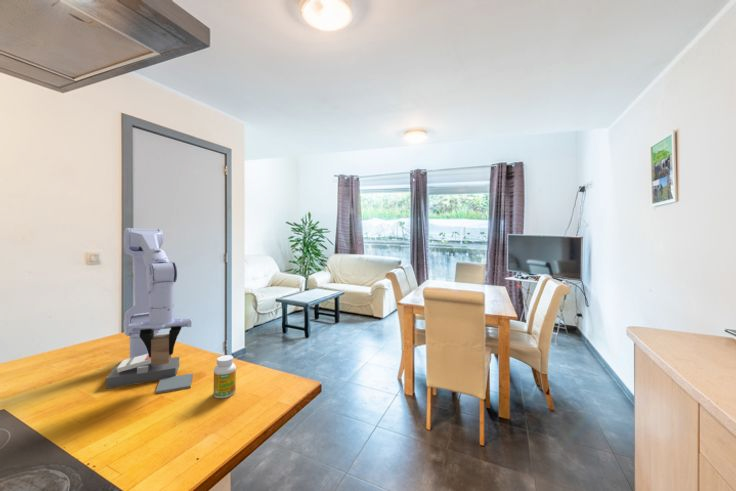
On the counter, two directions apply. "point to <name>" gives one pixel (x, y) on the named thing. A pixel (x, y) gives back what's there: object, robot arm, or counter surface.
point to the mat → (174, 383)
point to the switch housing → (142, 374)
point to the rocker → (134, 362)
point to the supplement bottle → (224, 377)
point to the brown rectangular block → (160, 349)
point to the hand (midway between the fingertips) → (161, 354)
